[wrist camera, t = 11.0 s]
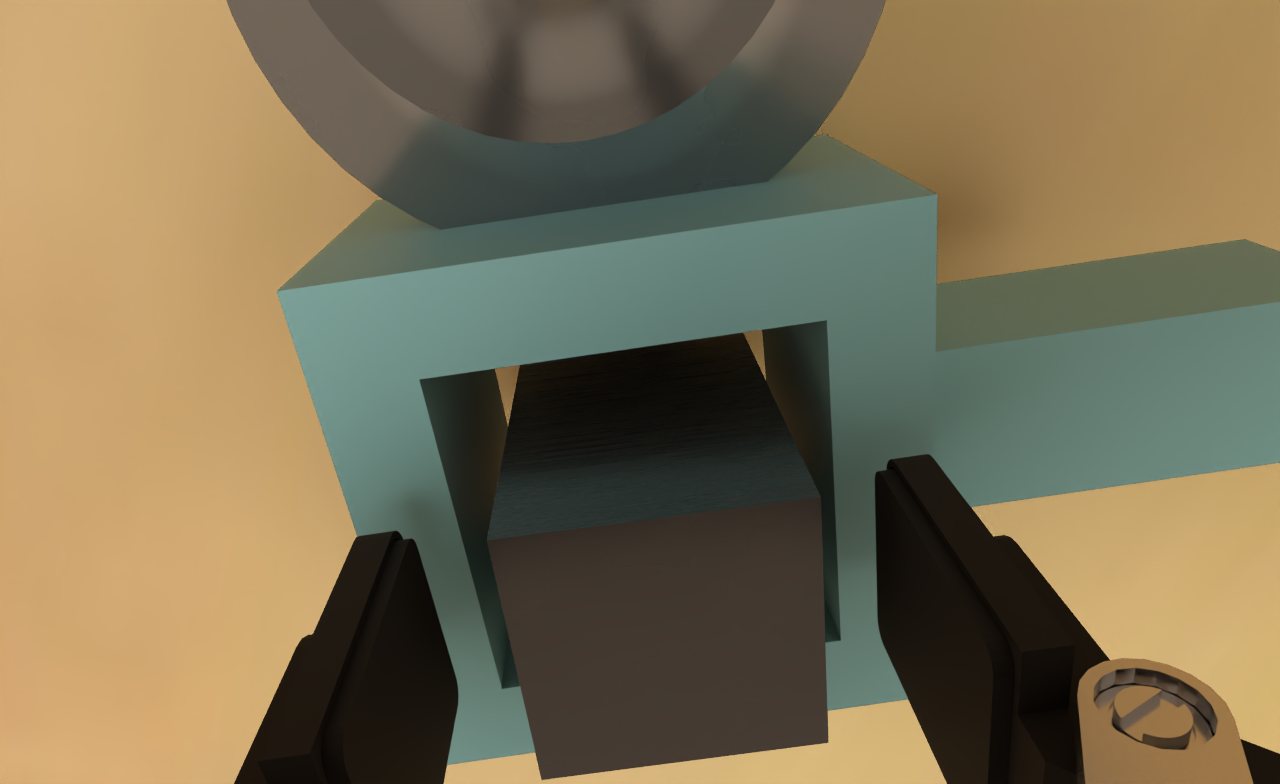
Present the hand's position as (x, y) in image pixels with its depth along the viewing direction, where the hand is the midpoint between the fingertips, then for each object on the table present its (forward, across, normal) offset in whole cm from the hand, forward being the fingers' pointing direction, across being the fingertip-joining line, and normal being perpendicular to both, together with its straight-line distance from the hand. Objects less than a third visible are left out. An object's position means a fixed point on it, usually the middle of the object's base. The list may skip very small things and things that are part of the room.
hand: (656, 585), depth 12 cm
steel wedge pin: (+17, 0, 0) cm, 17 cm away
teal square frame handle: (+8, -4, 0) cm, 9 cm away
